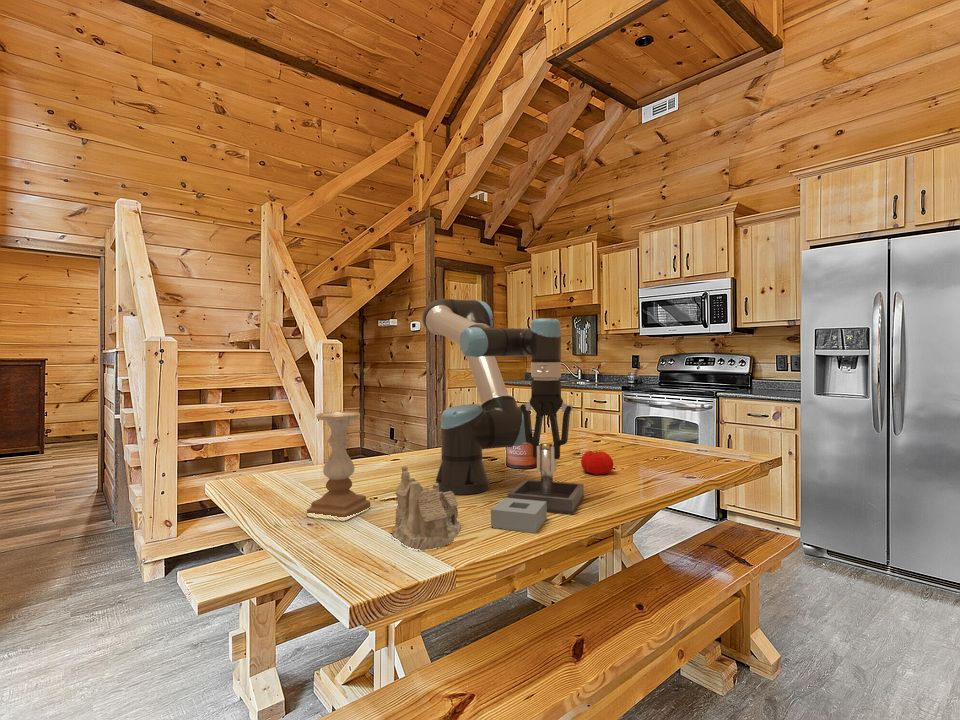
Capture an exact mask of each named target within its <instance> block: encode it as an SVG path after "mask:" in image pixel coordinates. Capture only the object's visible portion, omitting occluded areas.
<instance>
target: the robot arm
mask: <svg viewBox="0 0 960 720" xmlns="http://www.w3.org/2000/svg"><path fill="white" fill-rule="evenodd" d="M493 319H494V315H493V311H492V309H491V307H490V306H489V304H488V303H486V302H485V301H482V300H476V299H469V300H468V299H449V298H439V299H435V300H434V301H431V302H430V303H428V304H427V305H426V306H425V308H424V309H423V312H422V314H421V320H422V321H421V322H422V325H423V326H424V328H425V329H426V330H427V331H429V333H431V334H433V335H436V336H444V337H445V338H447V339H449V340H450V341H452V342H454V343H456V344H458V345H459V348H460V350H461V353H462V355H464V356H466V358H467V361H468V364H469V366H470V371H471V373H472V378H473V380H474V383H475V386H476V390H477V393H478V396H479V400H480V403H481V404H478V403H470V404H461V405H455V406H451V407H447V408H446V409H445V410H443V411H442V414H441V419H440V437H441V438H440V439H441V441H440V442H441V443H440V445H441V447H440V448H441V450H440V451H441V453H440V454H441V461H440V465H439V468H438V471H437V475H436V477H435V482H434V483H438V484H439V492H443V493H444V492H449V491H452V492H453V493H454V495H462V496H463V495H464V496H465V495H474V494H479V493H484V492H485V491H488V489H489V488H490V487H489V486H490V484H489V483H490V482H489V477H488V474H487V472H486V468H485V465H484V462H483V450H490V449H491V450H492V449H499V448H500V449H501V448H513V447H516V446H522V445H524V443H525V442H526V443H527V444H531V445H532V457H533V458H534V459H536V472H537V473H541V442H540V440H541V435H542V428H543V427H542V426H543V420H544V416H546V417H548V419H549V423H550V428H551V429H550V430H551V434H552V442H553V443H552V447H551V473H553V474H555V473H556V472H557V460H560V458H561V446H563V445H566V444H567V443H568V439H569V430H570V429H569V427H570V416H571V413H572V411H573V408H574V407H573V405H571V404H567V403H565V402H564V400H563V397H562V381H561V380H559V379H560V378H562V362H561V360H562V359H561V357H562V332H561V322H560V320H559V319H557V318H545V317H544V318H534V319H532V320H531V323H530V327H528V328H527V327H526V328H513V327H511V328H510V327H509V328H507V327H506V328H504V327H500V328H499V327H498V328H497V327H496V328H495V327H494V320H493ZM496 357H517V358H519V357H521V358H523V357H530V359H531V361H530V362H531V363H530V369H531V370H530V371H531V373H530V374H531V378H533V379H532V381H531V384H530V385H531V386H530V387H531V389H530V390H531V394H530V395H531V397H530V399H529V401H528V402H526V403H524V404H523V403H522V404H521V405H520V406H518V404H517V401H516V399H515V397H514V396H512V395H510V394H509V393H508V391H507V388H506V384H505V382H504V379H503V376H502V373H501V370H500V368H499V364H498V361H497V359H496ZM561 408H562V410H561V411H562V412H563V415H562V423H561V424H562V426H561V435H560V432H559V426H558V425H559V424H558V416H557V415H558V411H559V410H560V409H561ZM532 409H533V410H534V412H535V424H534V431H532V430H533V429H532V418H531V412H530V411H531V410H532ZM560 436H561V437H560Z"/></svg>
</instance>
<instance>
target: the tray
mask: <svg viewBox="0 0 960 720" xmlns="http://www.w3.org/2000/svg"><path fill="white" fill-rule="evenodd" d="M584 486H585V485H584V483H576V482H575V483H574V482H564V481H553V493H552V494H542V493H541V479H540V480H538V479H537V480H536V479H528V478H527V479H524V480H522V481H521V482H520V483H519V484H518V485H516V486H515V487H513V489H511V491H509V492H508V493H507V497H506V498H515V499H525V500H536V501H546V502H547V513H549V514H552V513H553V514H559V515H561V514H562V515H570V516H572V515H574V513H576V510H577V509H578V507H579V505H580V504H581V502H583V499H584V497H585V495H584V488H585V487H584Z"/></svg>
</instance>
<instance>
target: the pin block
mask: <svg viewBox="0 0 960 720" xmlns="http://www.w3.org/2000/svg"><path fill="white" fill-rule="evenodd" d="M547 514H548V512H547V502H546V501H536V500H525V499H515V498H507V497H504V498H503V499H502V500H500V501H499V502H498V503H496V504H495V506H493V507H492V508H491V509H490V529H496V528H502V529H501V530H505V529H507V530H506V531H513V530H514V532H524V533H532V534H536V533H537V532H538V531H539V530H540V528H541V527H542V526H543V524H544V523H545V522H546V520H547V518H548V515H547ZM492 527H493V528H492Z"/></svg>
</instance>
